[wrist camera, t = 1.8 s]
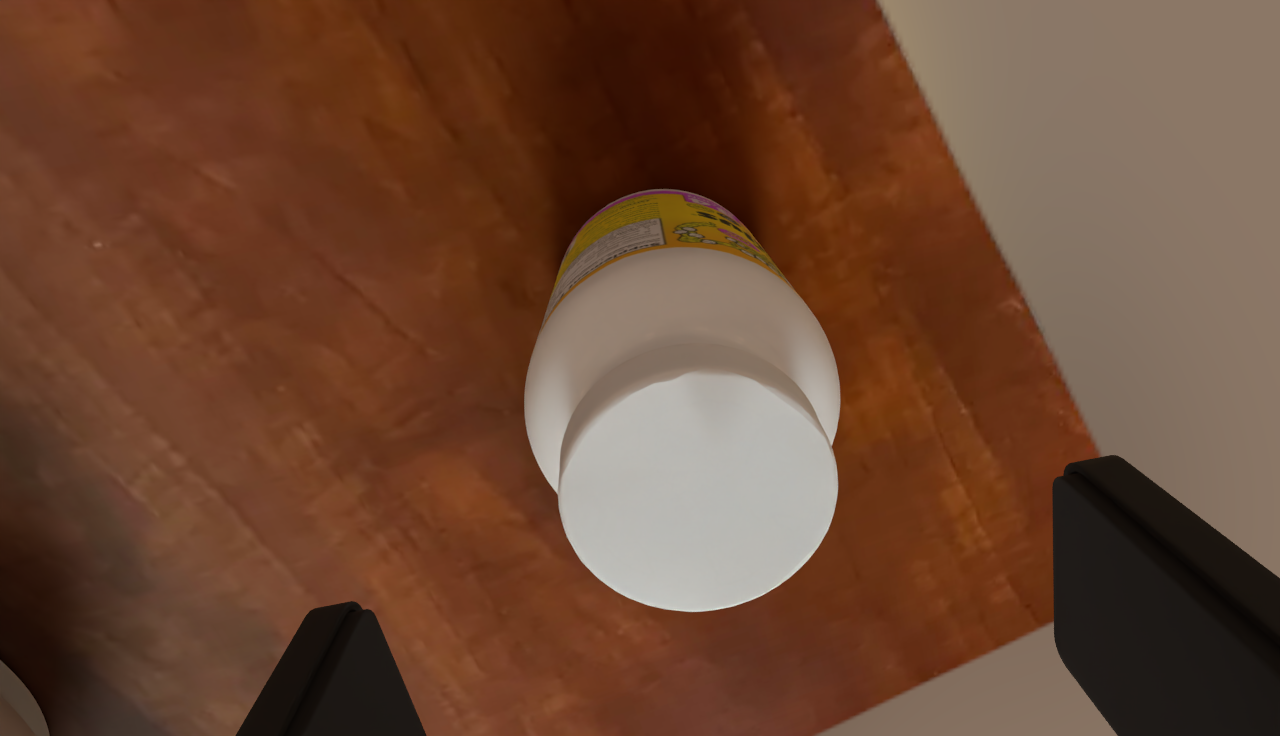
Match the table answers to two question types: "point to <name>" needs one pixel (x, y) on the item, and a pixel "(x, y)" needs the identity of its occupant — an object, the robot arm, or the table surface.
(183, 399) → the table surface
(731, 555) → the supplement bottle
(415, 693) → the table surface
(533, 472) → the table surface
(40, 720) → the decorative bowl
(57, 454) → the table surface
